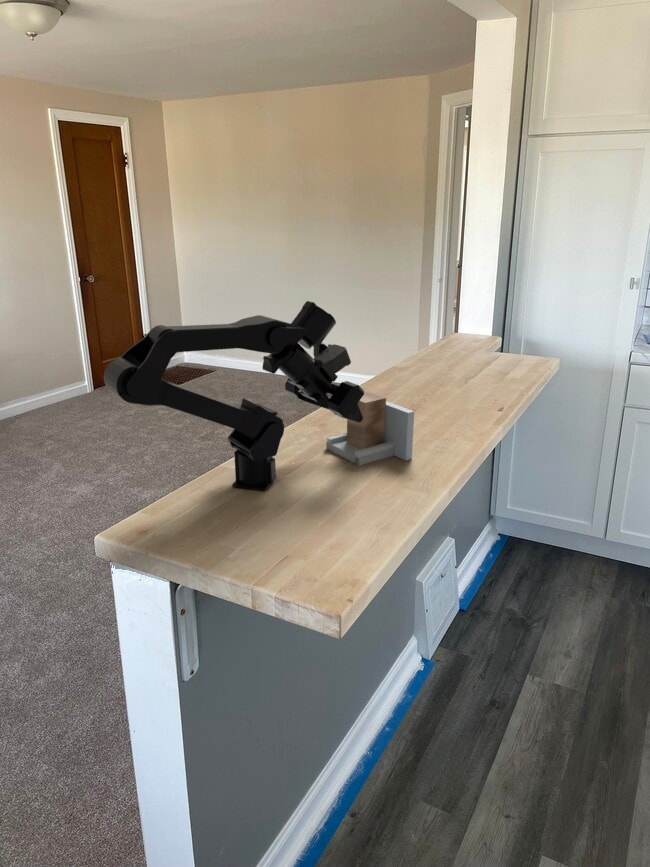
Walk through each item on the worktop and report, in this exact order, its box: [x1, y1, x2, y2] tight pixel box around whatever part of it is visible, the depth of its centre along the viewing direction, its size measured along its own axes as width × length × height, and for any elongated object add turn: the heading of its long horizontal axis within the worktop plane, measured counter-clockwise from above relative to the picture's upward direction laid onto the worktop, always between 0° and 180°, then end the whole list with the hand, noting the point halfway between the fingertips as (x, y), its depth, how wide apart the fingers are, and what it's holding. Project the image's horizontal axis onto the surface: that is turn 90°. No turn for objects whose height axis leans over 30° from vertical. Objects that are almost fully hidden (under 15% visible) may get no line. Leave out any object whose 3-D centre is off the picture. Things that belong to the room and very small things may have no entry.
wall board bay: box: [325, 400, 415, 467], centre depth 131 cm, size 11×18×10 cm, turn 36°
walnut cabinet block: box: [346, 391, 387, 449], centre depth 130 cm, size 6×6×10 cm
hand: (346, 414), depth 127 cm, fingers open, 9 cm apart
